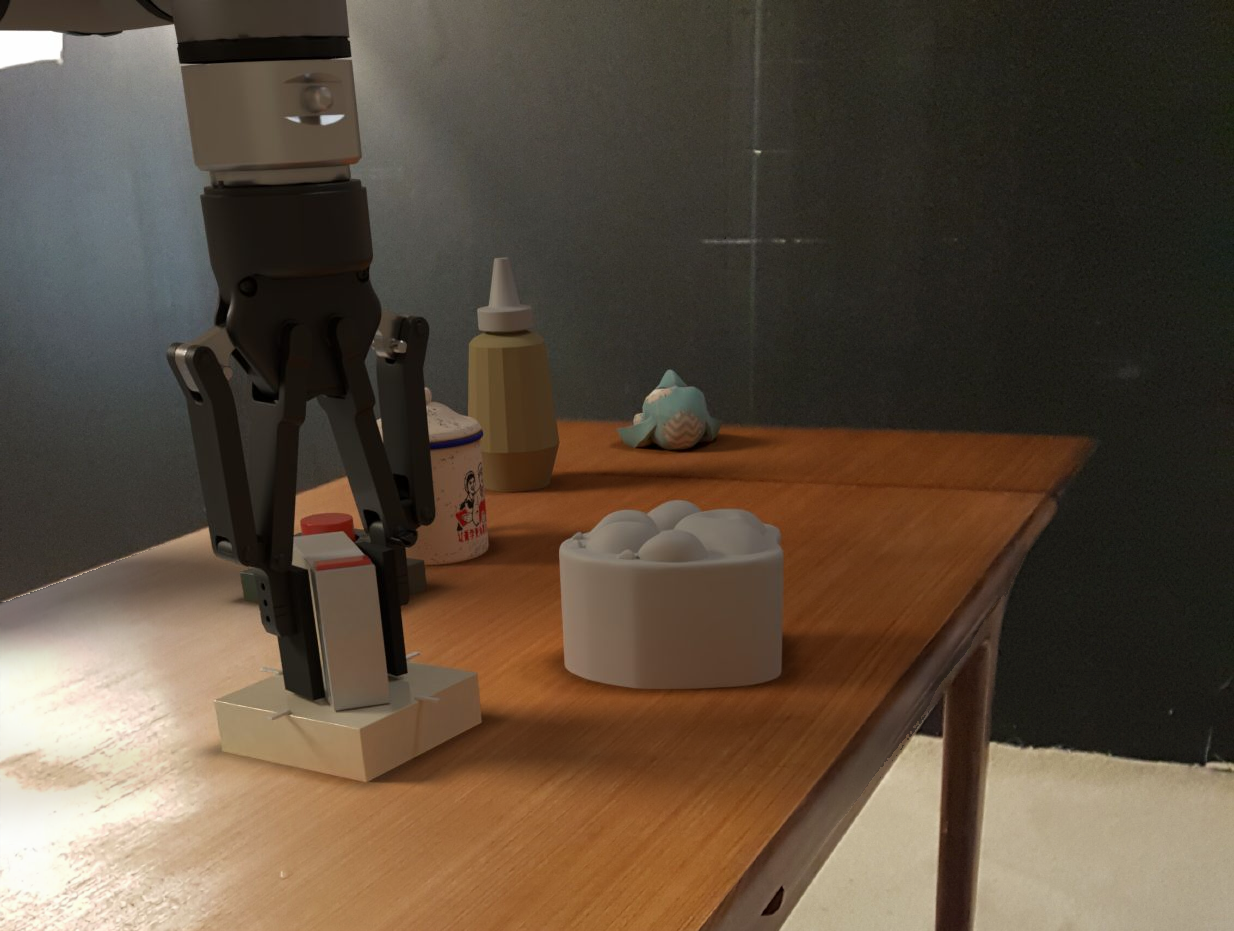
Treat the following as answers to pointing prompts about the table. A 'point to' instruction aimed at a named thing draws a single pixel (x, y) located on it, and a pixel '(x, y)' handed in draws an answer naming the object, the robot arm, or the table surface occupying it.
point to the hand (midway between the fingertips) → (347, 680)
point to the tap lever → (345, 619)
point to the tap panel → (350, 722)
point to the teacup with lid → (453, 489)
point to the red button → (328, 524)
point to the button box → (414, 565)
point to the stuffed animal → (672, 418)
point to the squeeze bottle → (511, 392)
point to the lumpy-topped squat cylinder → (674, 599)
